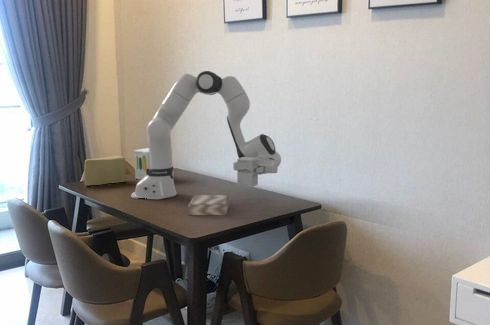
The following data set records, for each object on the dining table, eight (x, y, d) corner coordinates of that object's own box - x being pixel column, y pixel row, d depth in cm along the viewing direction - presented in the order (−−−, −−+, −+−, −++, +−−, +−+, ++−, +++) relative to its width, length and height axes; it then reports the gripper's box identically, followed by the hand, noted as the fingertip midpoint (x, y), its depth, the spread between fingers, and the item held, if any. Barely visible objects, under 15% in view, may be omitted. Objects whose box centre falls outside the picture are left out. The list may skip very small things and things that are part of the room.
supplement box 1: (134, 179, 294) (133, 150, 291) (152, 176, 304) (151, 147, 301) (149, 182, 285) (147, 151, 283) (167, 178, 295) (166, 149, 292)
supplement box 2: (236, 186, 227) (236, 158, 225) (243, 183, 234) (243, 156, 232) (252, 188, 224) (252, 159, 222) (258, 184, 231) (258, 157, 229)
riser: (188, 215, 217) (188, 203, 216) (194, 205, 233) (193, 194, 232) (225, 214, 216) (225, 203, 215) (228, 205, 232) (228, 194, 231)
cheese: (88, 188, 273) (86, 161, 271) (82, 185, 281) (80, 158, 279) (127, 182, 286) (125, 156, 284) (120, 180, 294) (118, 154, 292)
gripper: (241, 156, 243) (226, 161, 232) (280, 159, 234) (266, 164, 222) (241, 169, 245) (226, 175, 233) (280, 173, 235) (267, 178, 223)
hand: (246, 169), depth 227 cm, fingers closed on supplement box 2, 7 cm apart
